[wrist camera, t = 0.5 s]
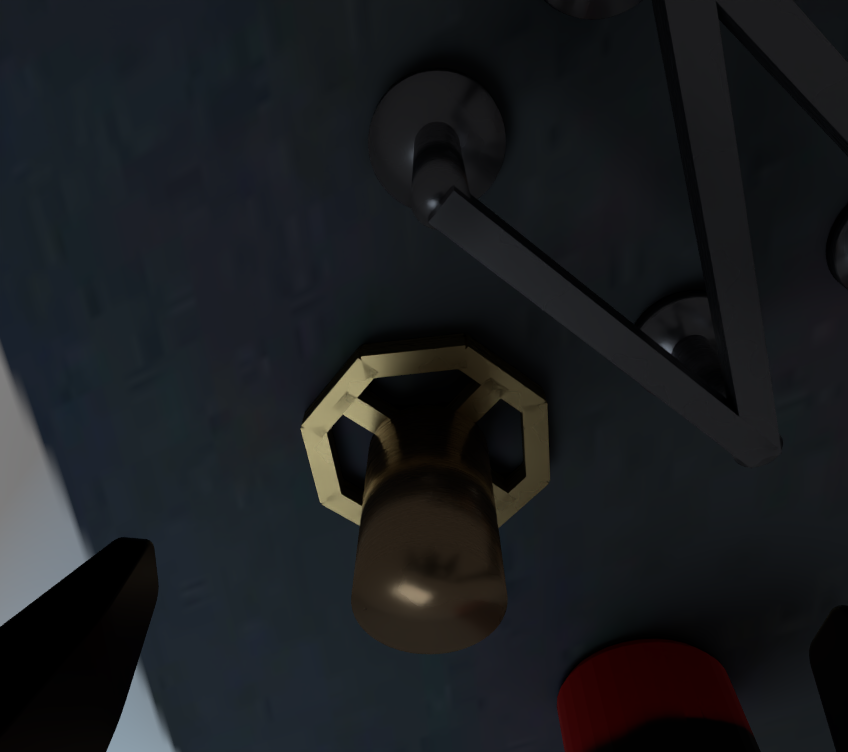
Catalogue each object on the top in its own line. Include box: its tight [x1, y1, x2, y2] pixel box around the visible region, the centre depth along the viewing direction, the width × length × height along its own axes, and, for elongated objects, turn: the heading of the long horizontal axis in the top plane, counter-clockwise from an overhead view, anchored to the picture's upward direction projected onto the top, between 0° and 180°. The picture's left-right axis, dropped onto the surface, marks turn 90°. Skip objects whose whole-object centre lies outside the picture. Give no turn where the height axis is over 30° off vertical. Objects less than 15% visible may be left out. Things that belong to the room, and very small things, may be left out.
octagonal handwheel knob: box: [301, 333, 550, 654], centre depth 21 cm, size 8×8×7 cm
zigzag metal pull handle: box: [368, 0, 848, 468], centre depth 17 cm, size 16×10×6 cm, turn 52°
